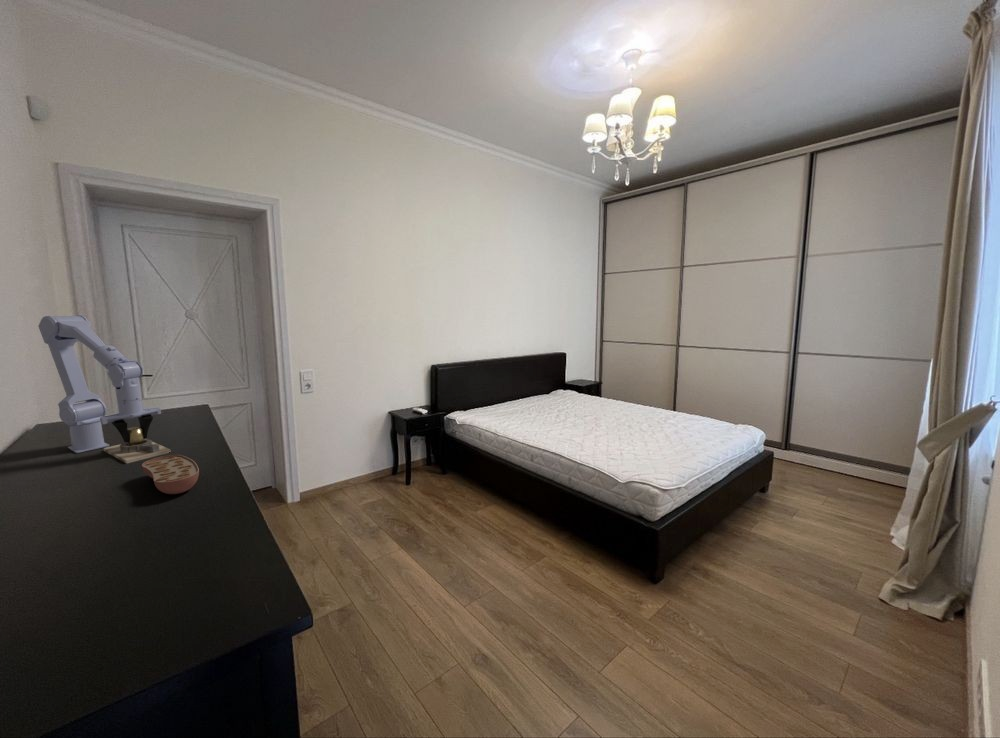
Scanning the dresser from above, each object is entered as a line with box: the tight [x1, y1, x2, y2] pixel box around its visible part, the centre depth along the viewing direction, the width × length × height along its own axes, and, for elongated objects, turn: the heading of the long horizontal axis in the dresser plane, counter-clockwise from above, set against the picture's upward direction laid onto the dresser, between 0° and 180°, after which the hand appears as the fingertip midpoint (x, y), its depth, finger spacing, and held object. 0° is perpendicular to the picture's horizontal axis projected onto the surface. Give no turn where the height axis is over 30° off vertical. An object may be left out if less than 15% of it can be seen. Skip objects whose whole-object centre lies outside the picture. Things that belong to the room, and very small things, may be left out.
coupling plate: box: [103, 438, 171, 464], centre depth 130 cm, size 20×11×3 cm, turn 59°
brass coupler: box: [127, 426, 144, 446], centre depth 130 cm, size 4×4×6 cm
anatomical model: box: [141, 454, 200, 495], centre depth 107 cm, size 23×10×5 cm, turn 51°
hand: (135, 439), depth 130 cm, fingers closed on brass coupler, 4 cm apart
